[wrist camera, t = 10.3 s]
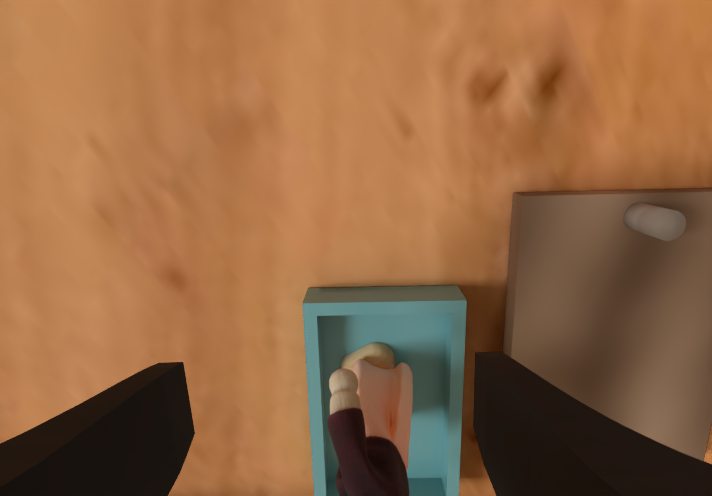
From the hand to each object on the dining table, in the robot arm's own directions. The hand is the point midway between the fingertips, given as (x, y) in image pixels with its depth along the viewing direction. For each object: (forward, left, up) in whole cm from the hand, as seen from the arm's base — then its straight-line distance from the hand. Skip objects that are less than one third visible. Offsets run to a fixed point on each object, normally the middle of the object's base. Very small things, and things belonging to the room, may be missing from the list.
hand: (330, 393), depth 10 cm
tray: (-2, +7, -10) cm, 12 cm away
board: (-13, +4, -10) cm, 17 cm away
